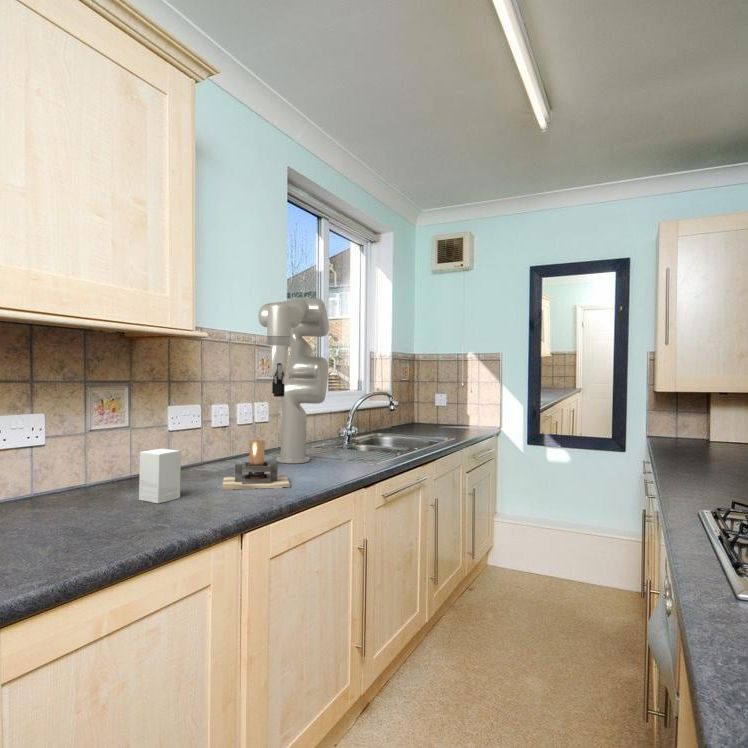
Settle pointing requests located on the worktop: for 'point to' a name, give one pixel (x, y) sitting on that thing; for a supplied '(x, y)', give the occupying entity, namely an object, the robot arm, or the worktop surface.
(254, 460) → the tube
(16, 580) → the worktop surface
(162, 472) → the supplement box
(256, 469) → the collar stand
